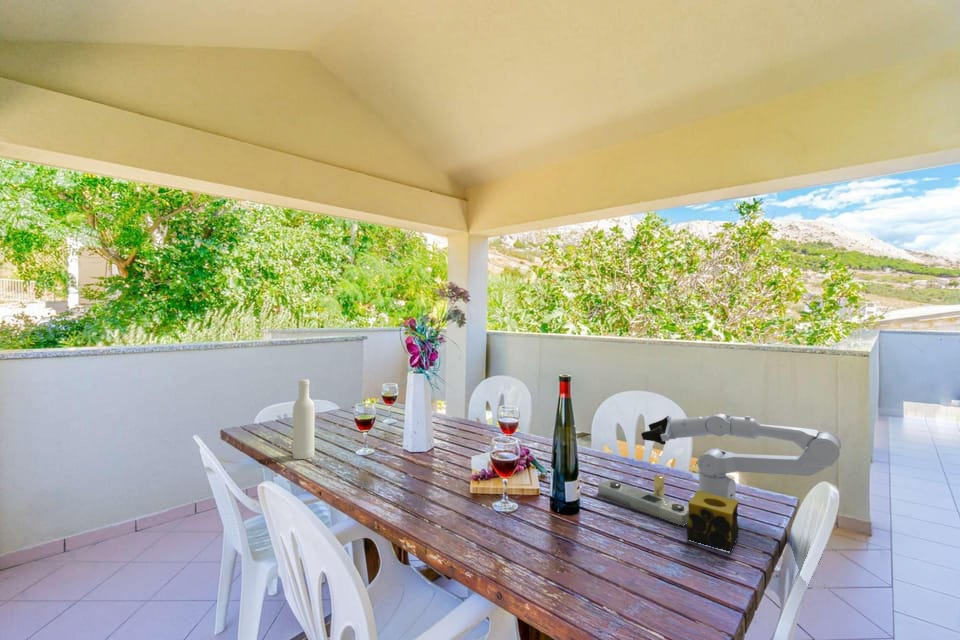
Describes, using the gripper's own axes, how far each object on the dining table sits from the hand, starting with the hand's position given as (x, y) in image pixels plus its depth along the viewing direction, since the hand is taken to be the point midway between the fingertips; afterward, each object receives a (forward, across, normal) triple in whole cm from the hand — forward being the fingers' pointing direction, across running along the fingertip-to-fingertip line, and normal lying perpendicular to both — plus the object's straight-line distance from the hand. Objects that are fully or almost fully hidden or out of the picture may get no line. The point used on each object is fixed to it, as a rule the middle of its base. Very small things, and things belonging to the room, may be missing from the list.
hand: (646, 431), depth 146 cm
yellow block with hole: (-20, +28, +20) cm, 40 cm away
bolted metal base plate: (0, +20, +15) cm, 25 cm away
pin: (-2, +12, +17) cm, 21 cm away
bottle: (+110, +60, -25) cm, 128 cm away
